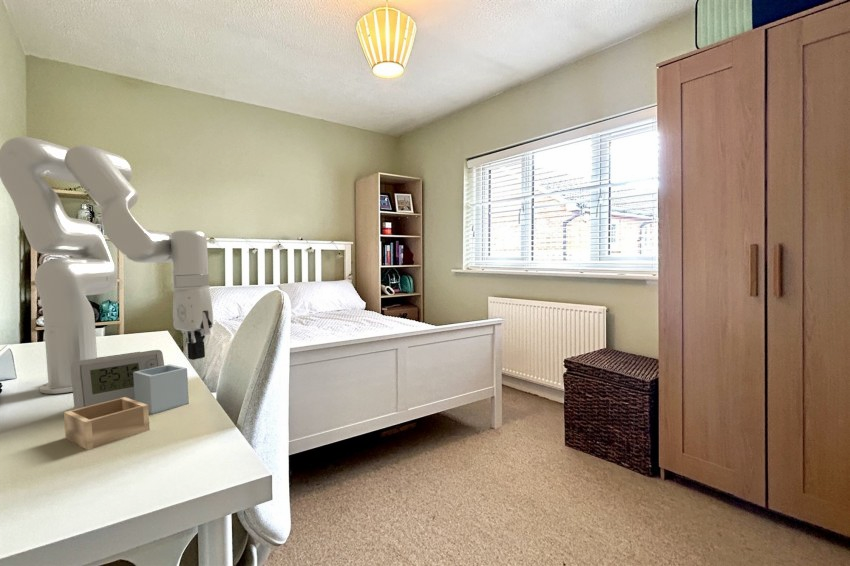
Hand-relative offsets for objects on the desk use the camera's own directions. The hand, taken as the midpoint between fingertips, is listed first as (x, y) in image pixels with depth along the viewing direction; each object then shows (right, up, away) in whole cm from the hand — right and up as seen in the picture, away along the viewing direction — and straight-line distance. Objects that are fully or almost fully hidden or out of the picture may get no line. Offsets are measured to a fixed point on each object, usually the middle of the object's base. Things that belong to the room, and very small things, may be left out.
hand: (196, 358), depth 102 cm
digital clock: (-9, -8, -13) cm, 17 cm away
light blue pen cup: (+1, -8, -16) cm, 17 cm away
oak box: (+1, -8, -29) cm, 31 cm away
